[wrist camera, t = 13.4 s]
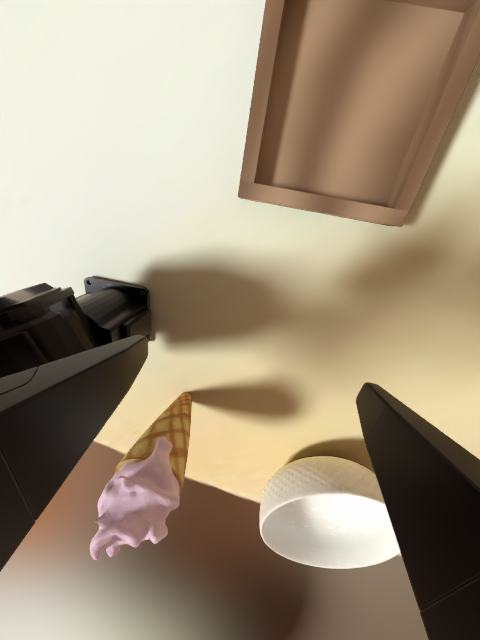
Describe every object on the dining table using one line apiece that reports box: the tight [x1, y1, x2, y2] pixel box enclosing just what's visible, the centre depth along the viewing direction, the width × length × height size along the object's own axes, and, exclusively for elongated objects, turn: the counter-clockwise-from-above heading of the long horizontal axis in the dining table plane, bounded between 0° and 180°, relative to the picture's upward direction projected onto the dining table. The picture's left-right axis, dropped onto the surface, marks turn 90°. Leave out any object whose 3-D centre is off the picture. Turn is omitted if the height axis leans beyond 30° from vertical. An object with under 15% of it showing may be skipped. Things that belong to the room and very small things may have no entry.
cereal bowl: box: [260, 456, 400, 569], centre depth 29 cm, size 17×17×7 cm
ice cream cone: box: [90, 392, 192, 560], centre depth 21 cm, size 7×6×15 cm
